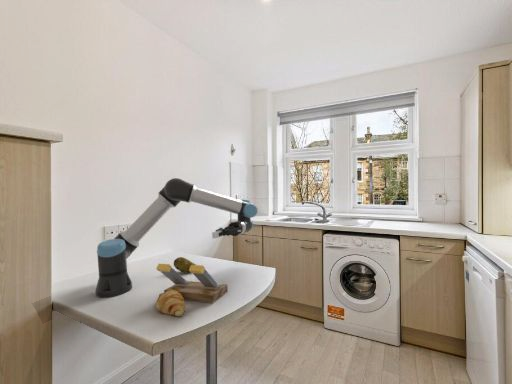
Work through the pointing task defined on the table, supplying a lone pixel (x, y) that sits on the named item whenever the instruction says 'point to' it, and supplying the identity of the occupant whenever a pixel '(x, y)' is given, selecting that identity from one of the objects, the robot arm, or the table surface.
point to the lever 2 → (203, 276)
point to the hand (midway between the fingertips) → (213, 235)
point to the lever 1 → (171, 274)
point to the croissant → (171, 303)
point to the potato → (183, 264)
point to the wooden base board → (199, 291)
